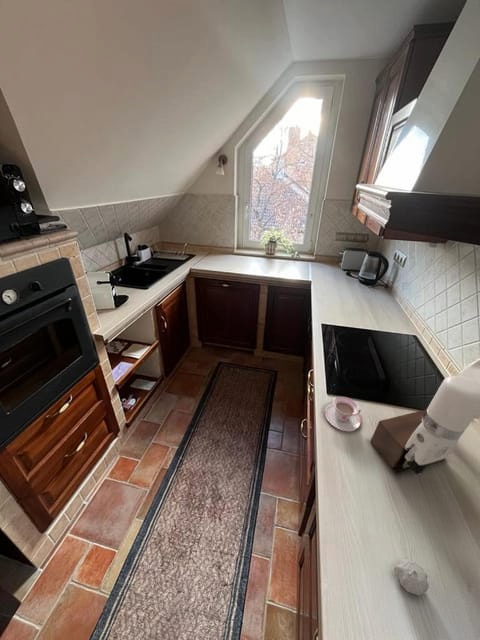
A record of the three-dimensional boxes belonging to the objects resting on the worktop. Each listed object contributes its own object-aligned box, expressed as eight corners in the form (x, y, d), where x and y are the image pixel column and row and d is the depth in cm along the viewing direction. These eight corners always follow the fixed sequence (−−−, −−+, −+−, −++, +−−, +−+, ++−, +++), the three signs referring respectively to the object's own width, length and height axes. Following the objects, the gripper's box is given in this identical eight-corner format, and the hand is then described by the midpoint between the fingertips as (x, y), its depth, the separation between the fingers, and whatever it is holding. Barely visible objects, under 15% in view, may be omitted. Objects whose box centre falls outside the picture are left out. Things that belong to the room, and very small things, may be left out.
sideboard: (445, 459, 76) (460, 438, 71) (396, 475, 72) (408, 454, 67) (415, 429, 85) (426, 409, 80) (370, 441, 81) (379, 420, 76)
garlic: (397, 595, 51) (406, 586, 48) (387, 560, 56) (395, 550, 53) (429, 602, 50) (440, 593, 48) (417, 566, 55) (426, 556, 52)
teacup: (323, 426, 85) (327, 413, 82) (324, 400, 95) (327, 388, 92) (362, 436, 82) (367, 423, 79) (358, 408, 92) (363, 396, 89)
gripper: (432, 444, 54) (402, 490, 64) (483, 429, 58) (448, 474, 67) (404, 416, 61) (380, 461, 70) (451, 404, 64) (423, 449, 73)
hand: (413, 468), depth 68 cm, fingers closed
